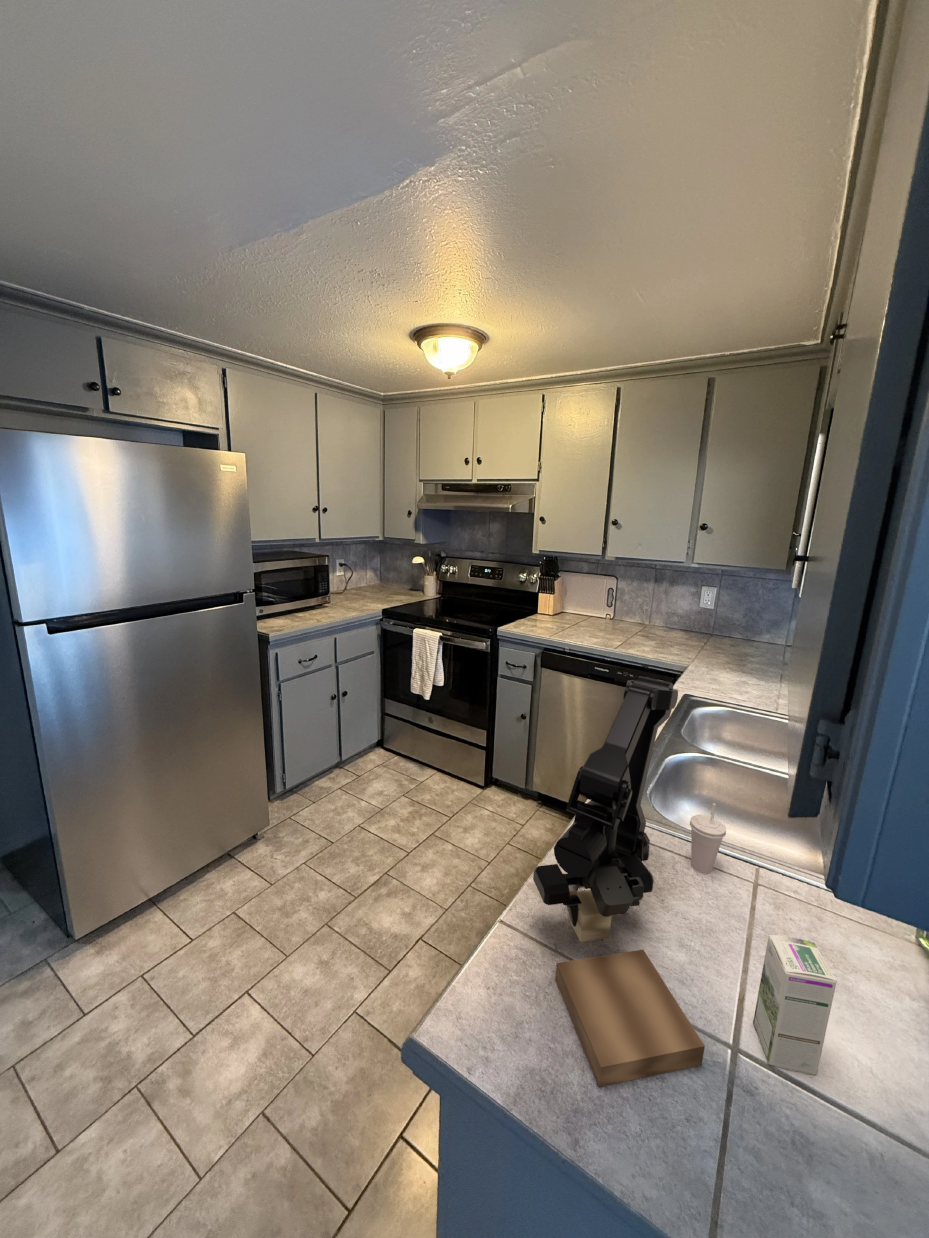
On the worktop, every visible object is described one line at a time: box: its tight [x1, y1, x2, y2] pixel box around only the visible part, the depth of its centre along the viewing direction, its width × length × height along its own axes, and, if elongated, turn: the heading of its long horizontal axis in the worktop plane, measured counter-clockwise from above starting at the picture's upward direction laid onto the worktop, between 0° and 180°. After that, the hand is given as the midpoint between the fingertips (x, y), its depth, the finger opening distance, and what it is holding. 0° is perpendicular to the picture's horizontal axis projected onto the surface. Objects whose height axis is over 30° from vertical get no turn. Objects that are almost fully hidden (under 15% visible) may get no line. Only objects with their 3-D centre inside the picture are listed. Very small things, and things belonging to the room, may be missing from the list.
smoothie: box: [689, 802, 727, 875], centre depth 95 cm, size 6×6×14 cm
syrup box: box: [752, 934, 837, 1076], centre depth 62 cm, size 6×6×14 cm
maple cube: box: [567, 889, 613, 943], centre depth 81 cm, size 5×5×5 cm
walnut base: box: [554, 949, 706, 1088], centre depth 66 cm, size 14×14×3 cm
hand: (588, 922), depth 81 cm, fingers closed on maple cube, 5 cm apart
